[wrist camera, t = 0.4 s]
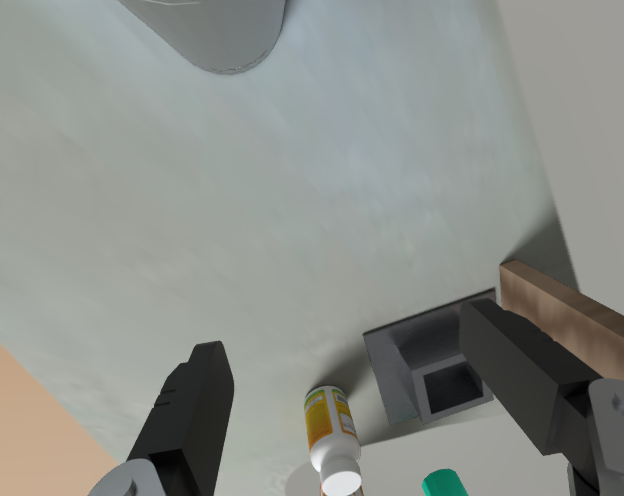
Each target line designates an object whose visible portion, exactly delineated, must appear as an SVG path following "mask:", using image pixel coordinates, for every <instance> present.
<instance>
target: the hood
mask: <svg viewBox="0 0 624 496" xmlns="http://www.w3.org/2000/svg"><path fill="white" fill-rule="evenodd" d="M500 282H501V299H502V309H503V310H509V311H512V312H514V313H516V314H518V315H520V316H523V317H525V318H527V319H528V320H530V321H531V322H532V323H533V324H535V325H536V326H537V327H539V328H540V329H541V331H542V332H545V333H546V334H548V335H549V336H550V337H552V338H553V340H554V341H557V342H558V343H559V344H561V345H562V346H563V347H565V348H566V349H567V350H569V351H570V352H571V353H573V354H574V355H575V356H576V357H578V358H579V359H580V360H582V361H583V362H584V363H586V364H587V365H588V366H589V367H591V368H592V369H593V370H595V371H596V372H597V373H599V374H600V375H601V376H602V377H604V378H612V379H619V380H624V316H623V315H621V314H619V313H618V312H615V311H614V310H612V309H610V308H608V307H606V306H604V305H602V304H600V303H599V302H597V301H594V300H593V299H591V298H589V297H587V296H585V295H583V294H581V293H579V292H578V291H576V290H574V289H572V288H570V287H568V286H566V285H564V284H562V283H560V282H559V281H557V280H555V279H553V278H551V277H549V276H547V275H545V274H543V273H541V272H539V271H538V270H536V269H534V268H532V267H530V266H528V265H526V264H524V263H522V262H520V261H519V260H517V259H516V260H513V261H510V262H507V263H504V264H501V265H500Z"/></svg>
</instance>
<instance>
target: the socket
mask: <svg viewBox="0 0 624 496" xmlns="http://www.w3.org/2000/svg"><path fill="white" fill-rule="evenodd" d="M480 298H489V299H491V300H492V301H494V302H495V303H496V298H495V291H494V290H491V291H488V292H485V293H482V294H479V295H476V296H473V297H470V298H467V299H464V300H461V301H459V302H456V303H453V304H450V305H447V306H444V307H441V308H438V309H435V310H432V311H430V312H427V313H424V314H421V315H418V316H415V317H412V318H409V319H406V320H403V321H400V322H398V323H395V324H392V325H389V326H386V327H383V328H380V329H377V330H374V331H371V332H368V333H366V334H363V337H364V340H365V344H366V347H367V350H368V354H369V357H370V360H371V364H372V367H373V370H374V374H375V377H376V380H377V384H378V387H379V390H380V394H381V397H382V400H383V404H384V407H385V410H386V414H387V417H388V420H389V424H390V426H392V425H394V424H397V423H400V422H403V421H406V420H409V419H412V418H415V417H418V416H419V417H420V419H421V421H422V423H423V424H426V423H429V422H432V421H435V420H438V419H440V418H443V417H446V416H449V415H452V414H455V413H458V412H461V411H464V410H466V409H469V408H472V407H475V406H478V405H481V404H484V403H487V402H489V401H492V400H494V397H493V392H492V391H491V390H490V389H489V387H488V386H487V385H486V384H485V382H484V381H483V380H482V379H481V377H480V376H479V375H478V374H477V372H476V371H475V370H474V369H473V367H472V366H471V365H470V364H469V362H468V361H467V360H466V358H465V357H464V355H463V353H462V351H461V348H460V344H459V326H460V308H461V304H462V302H463V301H468V300H474V299H480Z"/></svg>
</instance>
